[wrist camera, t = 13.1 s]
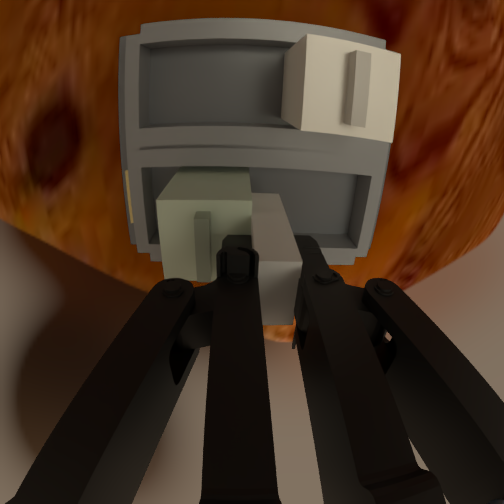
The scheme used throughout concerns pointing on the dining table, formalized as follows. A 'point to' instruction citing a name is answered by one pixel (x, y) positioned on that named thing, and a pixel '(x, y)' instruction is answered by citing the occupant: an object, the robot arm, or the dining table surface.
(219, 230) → the sage tab
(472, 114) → the dining table surface
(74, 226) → the dining table surface
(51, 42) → the dining table surface
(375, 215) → the switch bank
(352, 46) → the ivory tab
